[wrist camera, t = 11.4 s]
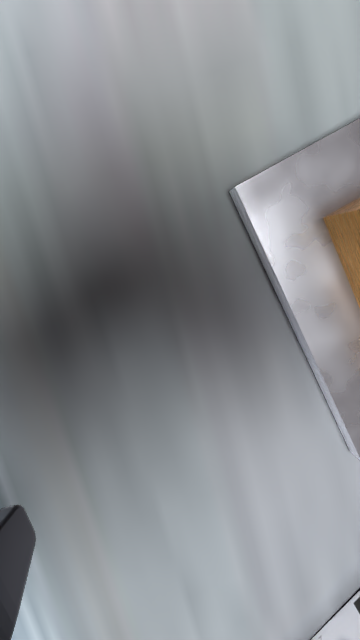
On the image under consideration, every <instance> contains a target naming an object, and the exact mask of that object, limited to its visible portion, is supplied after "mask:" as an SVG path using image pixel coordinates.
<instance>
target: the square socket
mask: <svg viewBox="0 0 360 640" xmlns="http://www.w3.org/2000/svg"><path fill="white" fill-rule="evenodd" d="M229 193H230V195H231V197H232V199H233V202H234V204H235V206H236V208H237V210H238V212H239V214H240V217H241V219H242V221H243V223H244V225H245V227H246V229H247V232H248V234H249V236H250V238H251V240H252V242H253V244H254V247H255V249H256V251H257V253H258V255H259V257H260V259H261V262H262V264H263V266H264V268H265V270H266V272H267V275H268V277H269V279H270V281H271V283H272V285H273V287H274V290H275V292H276V294H277V296H278V298H279V300H280V302H281V305H282V307H283V309H284V311H285V313H286V315H287V317H288V320H289V322H290V324H291V326H292V328H293V330H294V332H295V335H296V337H297V339H298V341H299V343H300V345H301V347H302V350H303V352H304V354H305V356H306V358H307V360H308V362H309V365H310V367H311V369H312V371H313V373H314V375H315V378H316V380H317V382H318V384H319V386H320V388H321V390H322V393H323V395H324V397H325V399H326V401H327V403H328V405H329V408H330V410H331V412H332V414H333V416H334V418H335V420H336V423H337V425H338V427H339V429H340V431H341V433H342V435H343V438H344V440H345V442H346V444H347V446H348V448H349V450H350V452H351V453H352V454H353V455H354V456H355V457H357V458H358V459H359V460H360V118H359V119H357V120H356V121H354V122H352V123H350V124H348V125H347V126H345V127H343V128H341V129H339V130H337V131H336V132H334V133H332V134H330V135H328V136H327V137H325V138H323V139H321V140H319V141H317V142H316V143H314V144H312V145H310V146H308V147H306V148H305V149H303V150H301V151H299V152H297V153H296V154H294V155H292V156H290V157H288V158H286V159H285V160H283V161H281V162H279V163H277V164H275V165H274V166H272V167H270V168H268V169H266V170H265V171H263V172H261V173H259V174H257V175H255V176H254V177H252V178H250V179H248V180H246V181H244V182H243V183H241V184H239V185H237V186H235V187H234V188H233V189H231V190H230V191H229Z"/></svg>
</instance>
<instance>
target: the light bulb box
mask: <svg viewBox="0 0 360 640" xmlns="http://www.w3.org/2000/svg"><path fill="white" fill-rule="evenodd" d="M311 640H360V591H359V592H358V593H357V594H356V595H355V596H354V597H353V598H352V599H351V600H350V601H349V602H348V603H347V604H346V605H345V606H344V607H343V608H342V609H341V610H340V611H339V612H338V613H337V614H336V615H335V616H334V617H333V618H332V619H331V620H330V621H329V622H328V623H327V624H326V625H325V626H324V627H323V628H322V629H321V630H320V631H319V632H318V633H317V634H316V635H315V636H314V637H313V638H312V639H311Z"/></svg>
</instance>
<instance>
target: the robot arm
mask: <svg viewBox="0 0 360 640" xmlns="http://www.w3.org/2000/svg"><path fill="white" fill-rule="evenodd" d="M35 541H36V536H35V531H34V529H33V526H32V524H31V522H30V520H29V518H28V516H27V514H26V511H25V509H24V508H23V507H22V506H21V505H13V506H9V507H4V508H2V509H0V640H11V637H12V634H13V631H14V627H15V624H16V620H17V616H18V613H19V609H20V604H21V600H22V596H23V592H24V588H25V584H26V580H27V576H28V572H29V567H30V563H31V559H32V555H33V551H34V547H35Z"/></svg>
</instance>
